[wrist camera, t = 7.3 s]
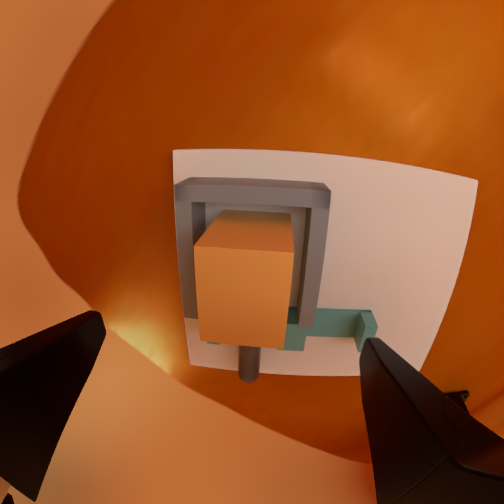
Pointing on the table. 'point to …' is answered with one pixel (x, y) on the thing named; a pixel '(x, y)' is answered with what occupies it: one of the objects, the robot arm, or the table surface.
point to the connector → (245, 283)
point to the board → (353, 250)
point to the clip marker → (336, 326)
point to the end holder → (263, 193)
